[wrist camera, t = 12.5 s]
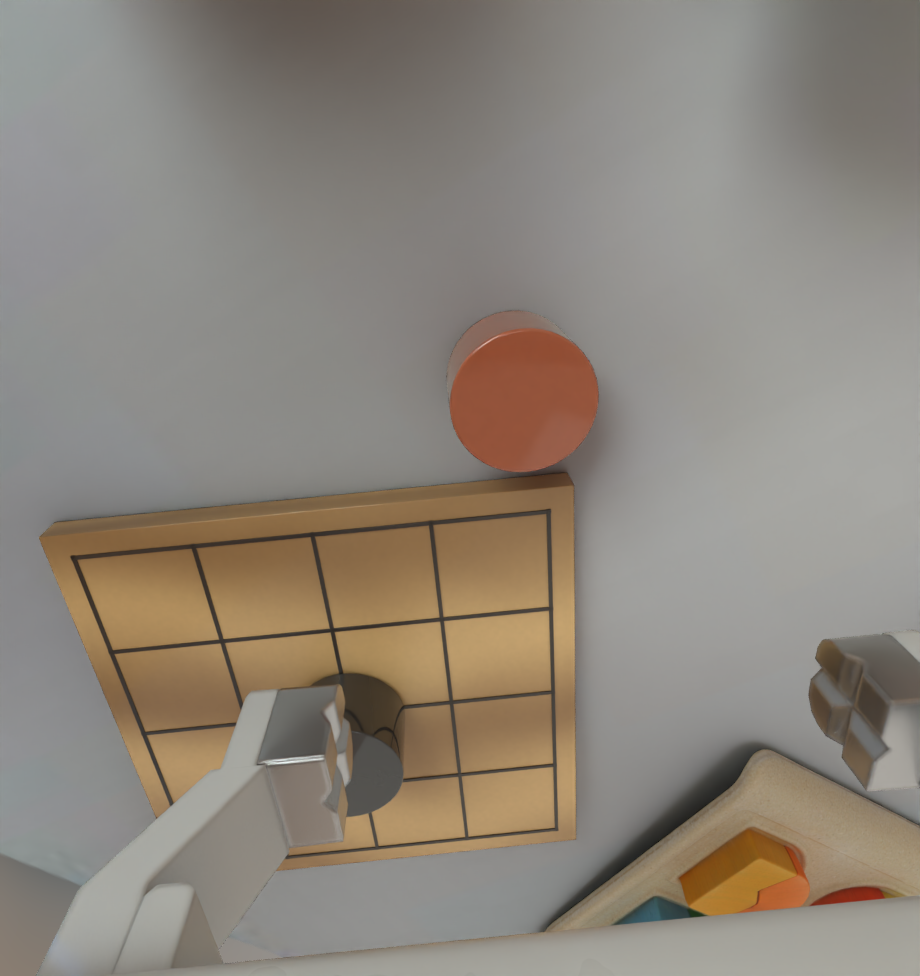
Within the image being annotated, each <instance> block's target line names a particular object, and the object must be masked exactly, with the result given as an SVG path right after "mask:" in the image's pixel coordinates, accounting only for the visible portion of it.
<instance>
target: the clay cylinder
mask: <svg viewBox="0 0 920 976" xmlns="http://www.w3.org/2000/svg"><path fill="white" fill-rule="evenodd" d="M446 380H447V391H448V400H449V408H450V414H451V420H452V424H453V427H454V430H455V432H456V434H457V436H458V438H459V439H460V441H461V442H462V444H463V445H464V446H465V448H466V449H467V450H468V451H469V452H470V453H471V454H472V455H473V456H474V457H476V458H477V459H479V460H480V461H482V462H483V463H485V464H487V465H489V466H491V467H494V468H497V469H500V470H505V471H510V472H530V471H536V470H540V469H543V468H547V467H549V466H551V465H554V464H556V463H558V462H559V461H561V460H563V459H564V458H566V457H567V456H568V455H570V454H571V453H572V452H573V451H574V450H575V449H576V448H577V447H578V446H579V445H580V444H581V443H582V442H583V440H584V439H585V437H586V436H587V434H588V433H589V431H590V429H591V427H592V425H593V422H594V420H595V417H596V413H597V408H598V400H599V391H598V383H597V378H596V375H595V372H594V369H593V367H592V365H591V363H590V362H589V360H588V358H587V357H586V356H585V354H584V353H583V352H582V351H581V350H580V349H579V348H578V347H577V346H576V345H575V344H574V342H573V341H572V340H571V339H570V338H569V337H568V336H567V335H566V334H565V333H564V332H563V331H562V330H561V329H560V328H559V327H558V326H557V325H556V324H554V323H553V322H552V321H550V320H548V319H547V318H545V317H543V316H540V315H538V314H535V313H531V312H527V311H505V312H499V313H496V314H493V315H490V316H488V317H486V318H483V319H482V320H480V321H479V322H477V323H475V324H474V325H473V326H472V327H470V328H469V329H468V330H467V331H466V332H465V333H464V334H463V335H462V337H461V338H460V339H459V341H458V342H457V344H456V345H455V347H454V349H453V351H452V353H451V356H450V359H449V363H448V367H447V375H446Z"/></svg>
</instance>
